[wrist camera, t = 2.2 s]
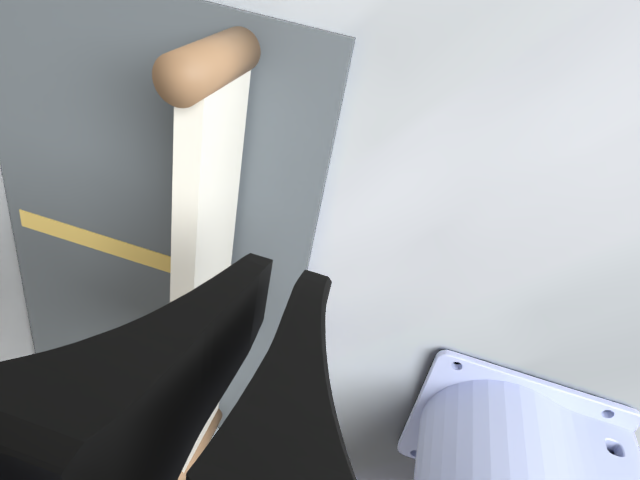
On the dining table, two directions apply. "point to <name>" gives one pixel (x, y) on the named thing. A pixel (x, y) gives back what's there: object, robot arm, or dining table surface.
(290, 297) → the robot arm
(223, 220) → the hinged fence panel
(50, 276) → the card
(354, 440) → the dining table surface
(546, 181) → the dining table surface
